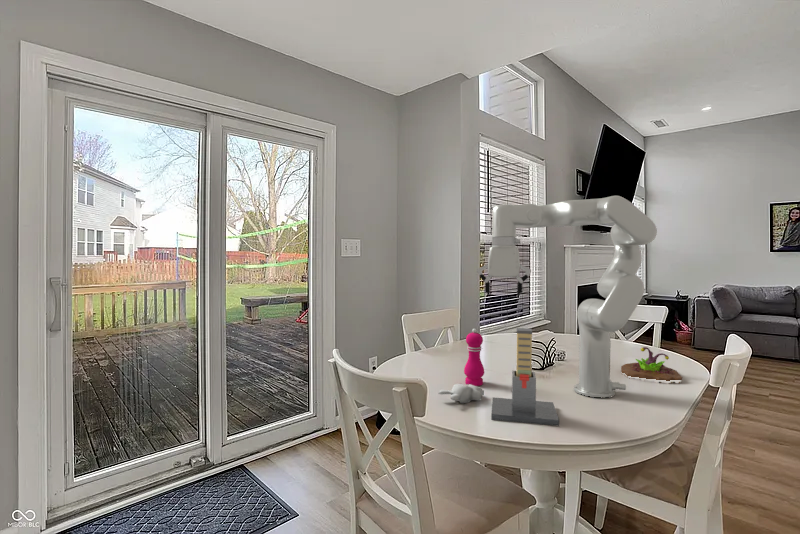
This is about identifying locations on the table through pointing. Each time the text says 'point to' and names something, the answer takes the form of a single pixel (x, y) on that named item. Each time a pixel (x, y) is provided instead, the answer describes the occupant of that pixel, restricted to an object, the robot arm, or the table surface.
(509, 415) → the sleeve
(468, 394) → the grey toy animal
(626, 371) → the plant
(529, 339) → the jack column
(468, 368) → the pepper mill
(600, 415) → the table surface
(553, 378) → the table surface
